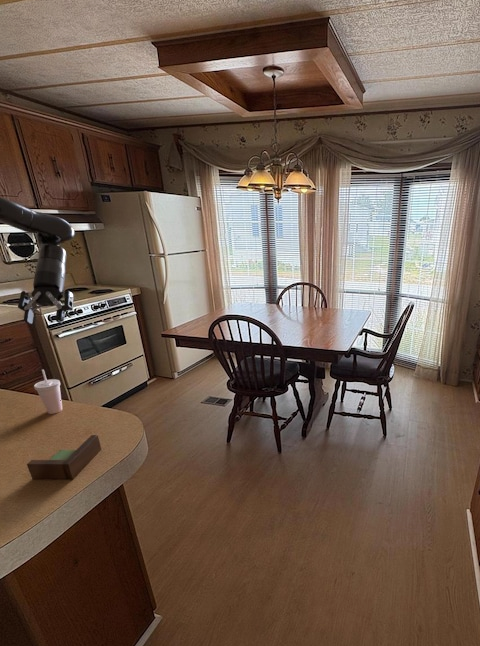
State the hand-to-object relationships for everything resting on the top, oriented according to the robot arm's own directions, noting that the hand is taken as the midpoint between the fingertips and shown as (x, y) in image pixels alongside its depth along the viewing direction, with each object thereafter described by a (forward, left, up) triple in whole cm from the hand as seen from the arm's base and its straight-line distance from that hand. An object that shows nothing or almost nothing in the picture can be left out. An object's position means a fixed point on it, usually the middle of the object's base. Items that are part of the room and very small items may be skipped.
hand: (43, 322), depth 105 cm
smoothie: (+2, -8, -27) cm, 28 cm away
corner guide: (+22, -35, -27) cm, 49 cm away
